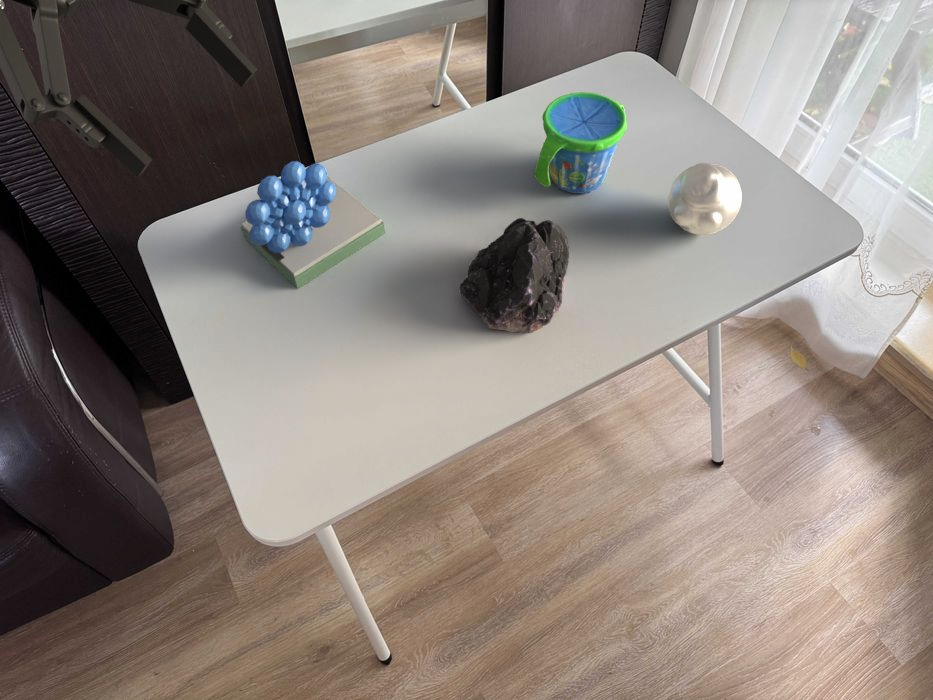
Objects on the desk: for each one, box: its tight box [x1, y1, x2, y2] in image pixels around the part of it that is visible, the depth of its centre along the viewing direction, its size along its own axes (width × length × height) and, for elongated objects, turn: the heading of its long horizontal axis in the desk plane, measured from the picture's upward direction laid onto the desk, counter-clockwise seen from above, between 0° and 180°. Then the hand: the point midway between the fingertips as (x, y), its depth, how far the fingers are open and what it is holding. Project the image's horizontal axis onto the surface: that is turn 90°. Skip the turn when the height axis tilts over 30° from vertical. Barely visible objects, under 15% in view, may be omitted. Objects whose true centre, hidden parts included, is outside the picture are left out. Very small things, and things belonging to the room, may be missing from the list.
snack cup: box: [534, 91, 628, 195], centre depth 95 cm, size 16×10×10 cm
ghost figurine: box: [667, 162, 743, 236], centre depth 89 cm, size 9×10×10 cm
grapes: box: [244, 160, 336, 253], centre depth 86 cm, size 12×7×12 cm, turn 122°
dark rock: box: [459, 217, 570, 334], centre depth 84 cm, size 13×14×10 cm
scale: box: [240, 175, 386, 289], centre depth 93 cm, size 14×13×3 cm
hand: (200, 121), depth 61 cm, fingers open, 13 cm apart
